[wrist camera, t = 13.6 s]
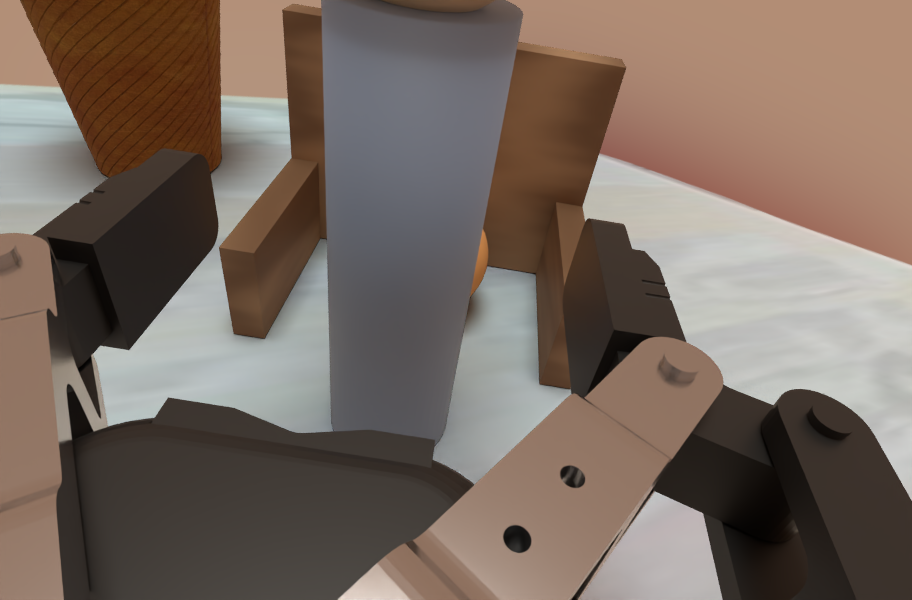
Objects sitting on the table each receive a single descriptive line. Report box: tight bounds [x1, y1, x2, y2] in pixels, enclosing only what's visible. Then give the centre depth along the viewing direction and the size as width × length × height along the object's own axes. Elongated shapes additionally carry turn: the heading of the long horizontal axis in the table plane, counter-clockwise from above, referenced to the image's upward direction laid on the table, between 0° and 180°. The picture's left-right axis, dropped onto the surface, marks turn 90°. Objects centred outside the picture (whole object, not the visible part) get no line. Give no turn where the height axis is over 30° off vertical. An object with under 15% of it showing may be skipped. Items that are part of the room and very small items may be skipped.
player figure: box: [321, 0, 523, 446], centre depth 13 cm, size 5×5×17 cm
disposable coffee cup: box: [20, 0, 222, 177], centre depth 27 cm, size 10×10×12 cm
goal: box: [219, 4, 626, 389], centre depth 21 cm, size 13×9×10 cm, turn 85°
